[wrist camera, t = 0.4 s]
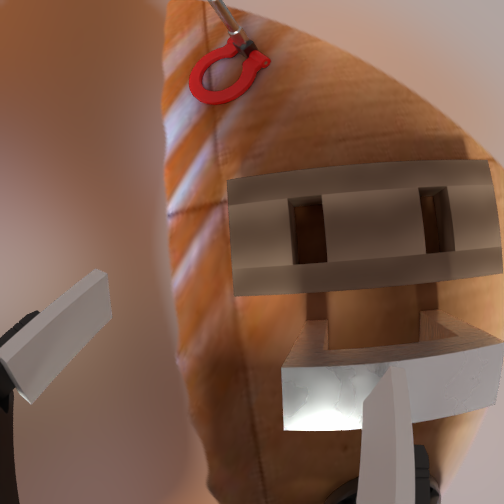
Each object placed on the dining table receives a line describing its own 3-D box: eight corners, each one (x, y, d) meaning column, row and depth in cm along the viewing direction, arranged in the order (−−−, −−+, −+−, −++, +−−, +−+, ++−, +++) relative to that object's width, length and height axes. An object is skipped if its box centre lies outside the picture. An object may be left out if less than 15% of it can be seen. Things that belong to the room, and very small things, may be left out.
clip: (437, 349, 23) (494, 404, 11) (307, 360, 27) (283, 430, 15) (438, 309, 24) (505, 341, 11) (306, 320, 27) (281, 367, 15)
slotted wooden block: (483, 271, 22) (502, 273, 18) (247, 291, 29) (234, 296, 25) (471, 171, 23) (487, 159, 19) (241, 190, 29) (226, 180, 26)
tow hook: (218, 119, 31) (278, 66, 29) (152, 61, 19) (238, -11, 16) (181, 84, 33) (234, 37, 31) (117, 32, 20) (187, -28, 18)
